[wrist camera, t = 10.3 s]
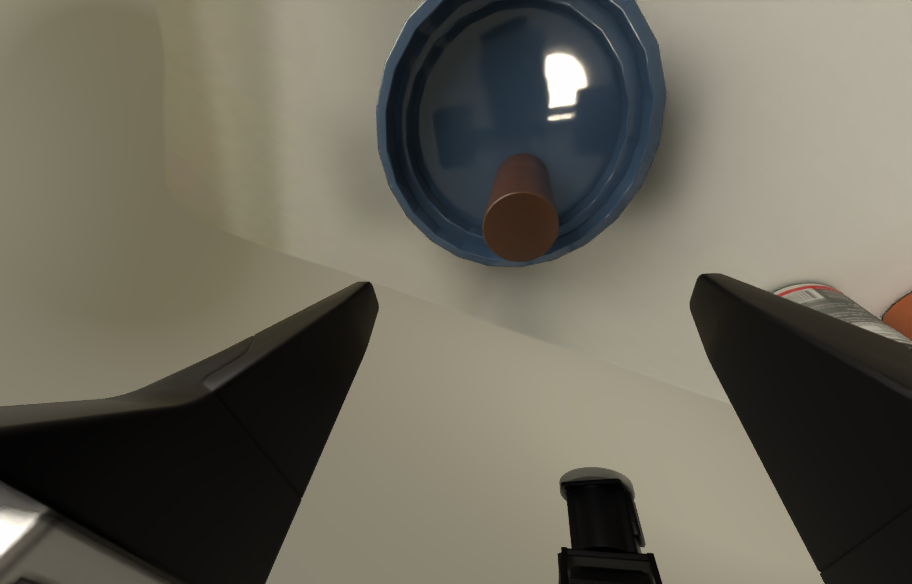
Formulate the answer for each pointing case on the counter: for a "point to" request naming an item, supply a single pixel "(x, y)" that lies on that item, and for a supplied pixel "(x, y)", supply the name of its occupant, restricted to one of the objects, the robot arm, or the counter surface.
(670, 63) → the counter surface
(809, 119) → the counter surface
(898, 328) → the orange cylinder cap
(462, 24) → the bowl
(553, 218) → the brown cylinder
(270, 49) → the counter surface
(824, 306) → the pill bottle
